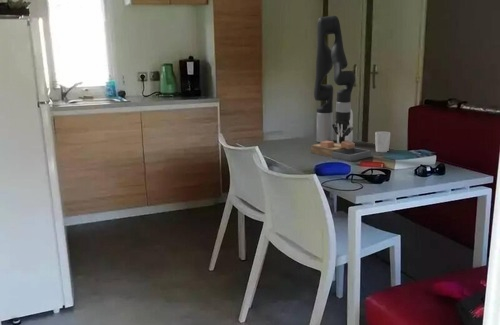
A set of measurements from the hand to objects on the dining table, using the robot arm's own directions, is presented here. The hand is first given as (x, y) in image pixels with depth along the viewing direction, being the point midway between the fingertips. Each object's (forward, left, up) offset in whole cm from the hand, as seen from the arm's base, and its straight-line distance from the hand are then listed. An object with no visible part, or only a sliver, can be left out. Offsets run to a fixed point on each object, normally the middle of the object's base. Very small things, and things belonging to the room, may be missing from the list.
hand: (341, 143), depth 269 cm
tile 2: (-1, +3, -2) cm, 4 cm away
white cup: (-19, +11, -6) cm, 23 cm away
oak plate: (+3, -5, -6) cm, 8 cm away
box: (+3, +9, -6) cm, 11 cm away
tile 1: (+6, -5, -2) cm, 8 cm away
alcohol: (-21, -17, -6) cm, 28 cm away
